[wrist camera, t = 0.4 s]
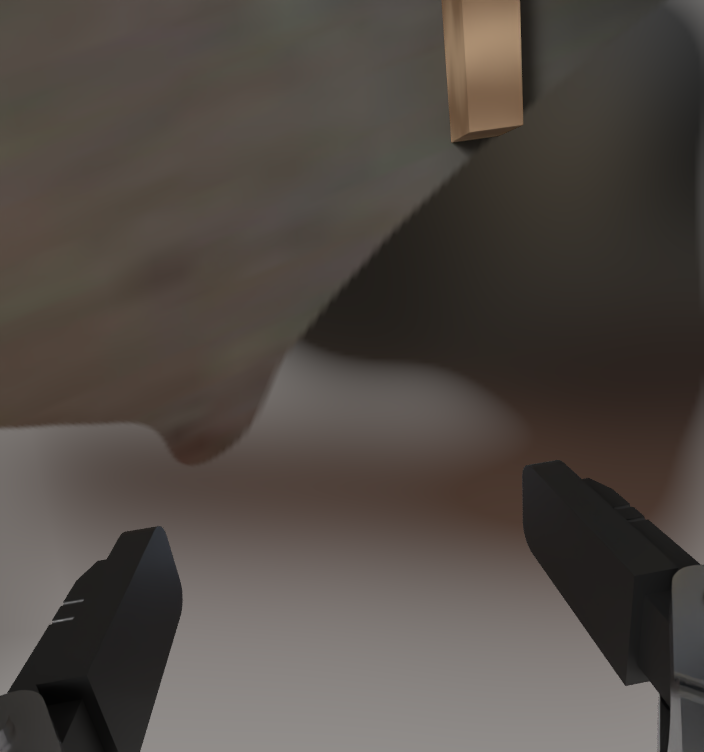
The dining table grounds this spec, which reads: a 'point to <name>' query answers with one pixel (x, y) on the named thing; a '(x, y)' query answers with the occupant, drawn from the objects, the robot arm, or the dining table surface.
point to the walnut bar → (483, 67)
